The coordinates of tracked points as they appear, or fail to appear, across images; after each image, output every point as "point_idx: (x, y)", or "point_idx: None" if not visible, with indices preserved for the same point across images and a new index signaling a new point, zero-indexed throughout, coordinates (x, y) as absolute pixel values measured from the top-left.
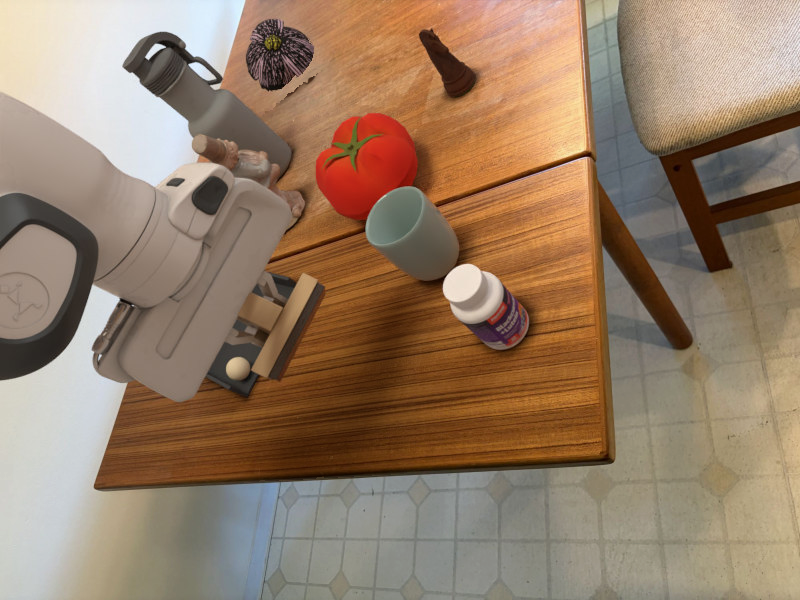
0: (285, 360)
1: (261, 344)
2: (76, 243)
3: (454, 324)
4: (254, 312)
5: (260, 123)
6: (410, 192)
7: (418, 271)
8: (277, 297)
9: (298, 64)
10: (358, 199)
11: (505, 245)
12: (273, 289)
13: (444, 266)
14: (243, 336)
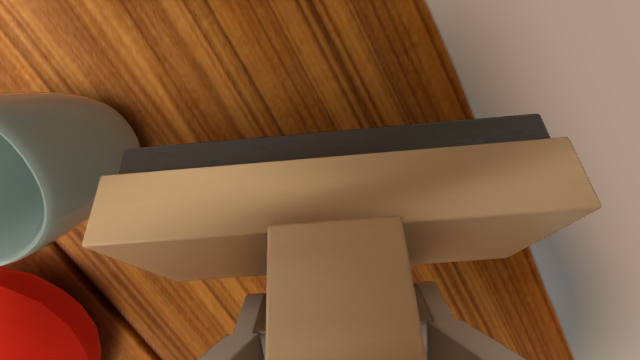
0: (455, 123)
1: (430, 287)
2: None
3: (185, 49)
4: (365, 346)
5: None
6: None
7: (108, 129)
8: (250, 324)
9: None
10: (31, 341)
11: (22, 32)
12: (222, 353)
13: (87, 98)
14: (471, 354)
